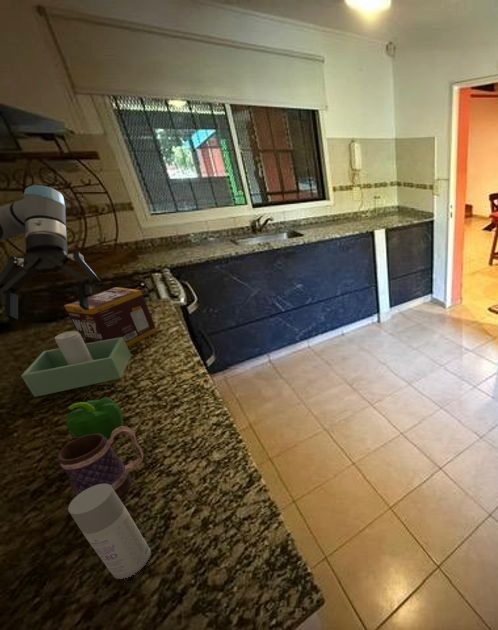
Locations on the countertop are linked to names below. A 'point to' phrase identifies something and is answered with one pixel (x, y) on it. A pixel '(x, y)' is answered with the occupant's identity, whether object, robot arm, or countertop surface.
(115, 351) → the basin
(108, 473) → the mug
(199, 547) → the countertop surface
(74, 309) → the supplement box
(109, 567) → the container
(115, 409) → the bell pepper
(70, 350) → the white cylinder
